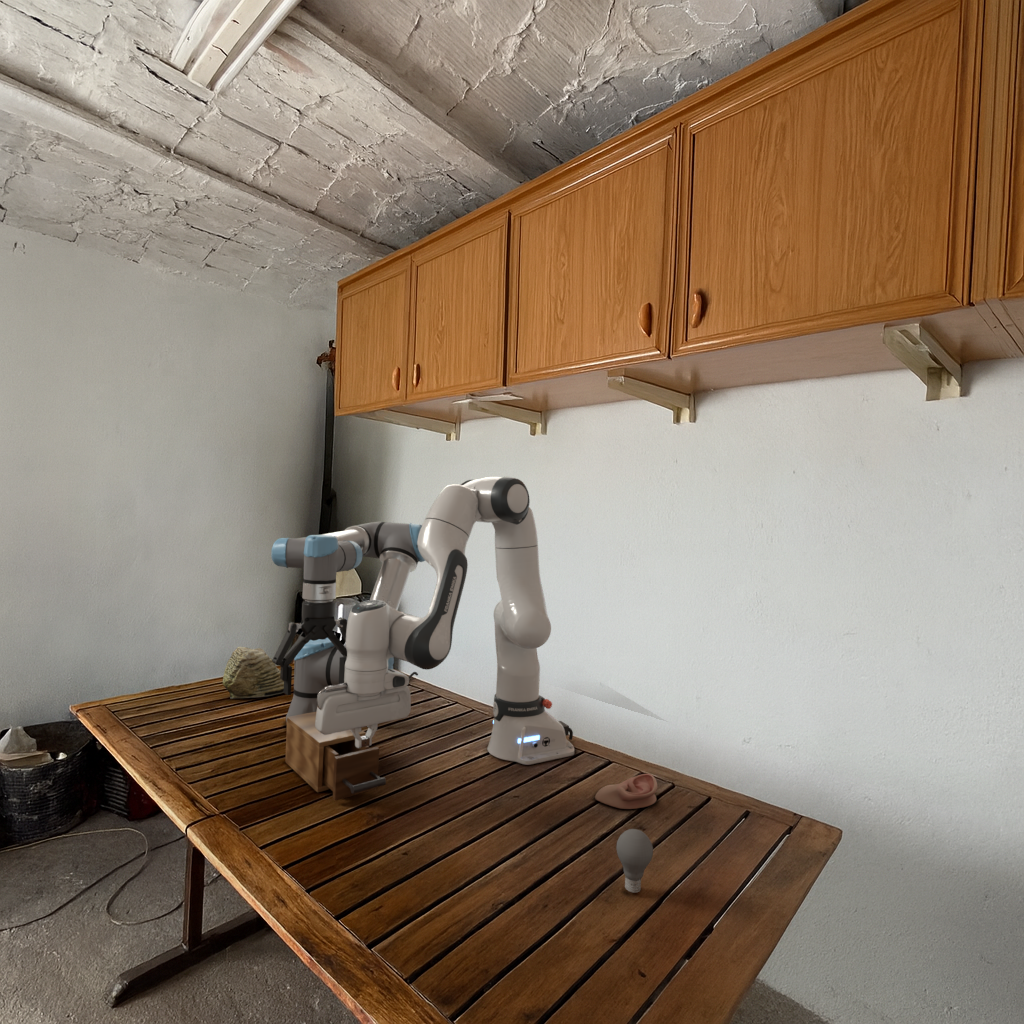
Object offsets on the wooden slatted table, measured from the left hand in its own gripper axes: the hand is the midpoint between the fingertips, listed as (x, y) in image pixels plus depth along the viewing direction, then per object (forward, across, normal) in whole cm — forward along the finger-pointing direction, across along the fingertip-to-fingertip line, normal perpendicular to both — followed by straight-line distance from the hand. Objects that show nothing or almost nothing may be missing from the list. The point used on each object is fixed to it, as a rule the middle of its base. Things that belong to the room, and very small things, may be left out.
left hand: (315, 689), depth 151 cm
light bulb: (+17, +23, -78) cm, 83 cm away
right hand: (+5, 0, -25) cm, 26 cm away
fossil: (+17, +5, +57) cm, 60 cm away
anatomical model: (+17, +48, -56) cm, 76 cm away
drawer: (+16, 0, -17) cm, 24 cm away
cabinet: (+17, 0, -6) cm, 18 cm away
